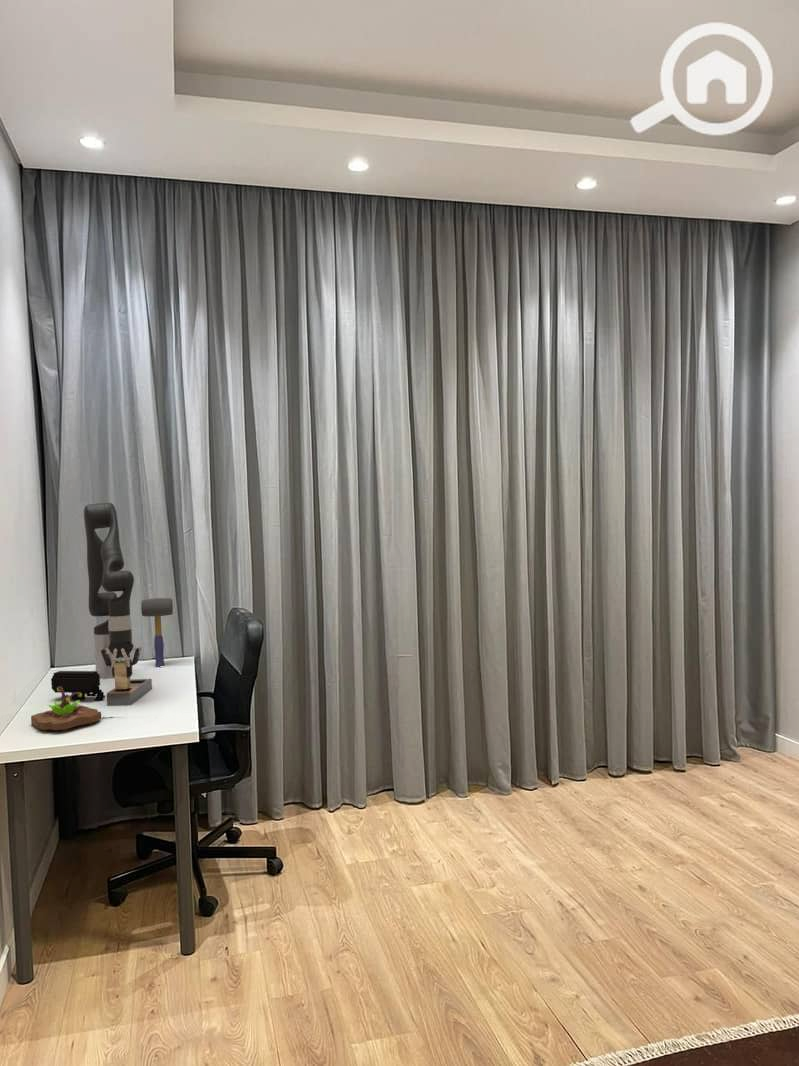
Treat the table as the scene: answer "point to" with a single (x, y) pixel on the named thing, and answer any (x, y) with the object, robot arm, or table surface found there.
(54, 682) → the security camera
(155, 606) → the rubber mallet
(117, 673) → the brown upright block
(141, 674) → the table surface
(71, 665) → the table surface
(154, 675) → the table surface
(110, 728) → the table surface
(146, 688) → the rail
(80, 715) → the plant
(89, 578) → the robot arm
